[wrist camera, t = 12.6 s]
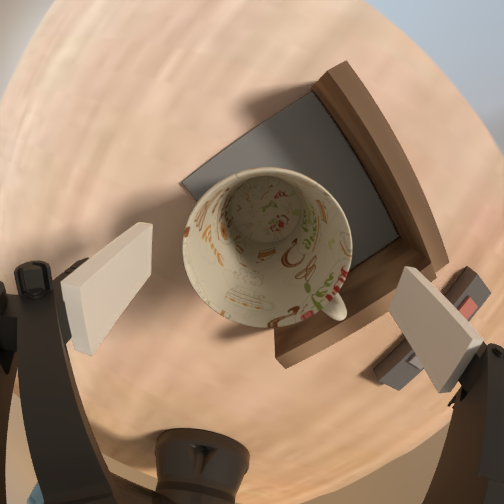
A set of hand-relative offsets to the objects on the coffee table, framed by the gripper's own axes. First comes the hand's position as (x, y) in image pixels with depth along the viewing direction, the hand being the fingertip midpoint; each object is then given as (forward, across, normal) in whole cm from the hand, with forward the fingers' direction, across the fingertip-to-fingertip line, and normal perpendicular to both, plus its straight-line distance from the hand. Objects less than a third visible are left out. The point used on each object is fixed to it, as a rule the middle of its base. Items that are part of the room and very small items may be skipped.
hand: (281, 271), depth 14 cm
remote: (+10, +21, -9) cm, 25 cm away
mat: (+10, +2, +1) cm, 11 cm away
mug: (+10, +1, -1) cm, 10 cm away
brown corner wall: (+10, +3, +1) cm, 11 cm away
